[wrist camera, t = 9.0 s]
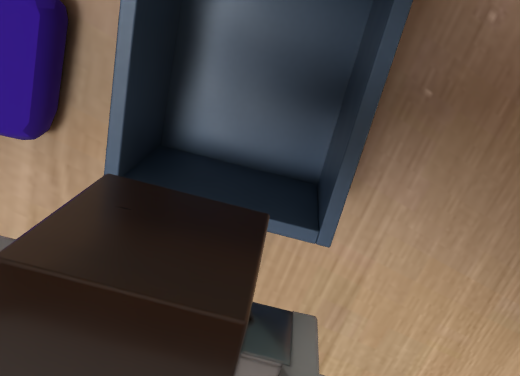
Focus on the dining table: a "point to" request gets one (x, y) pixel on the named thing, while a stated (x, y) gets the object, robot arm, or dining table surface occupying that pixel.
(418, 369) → the dining table surface
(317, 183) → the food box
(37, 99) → the spray bottle
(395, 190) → the dining table surface
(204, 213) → the block
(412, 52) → the dining table surface
